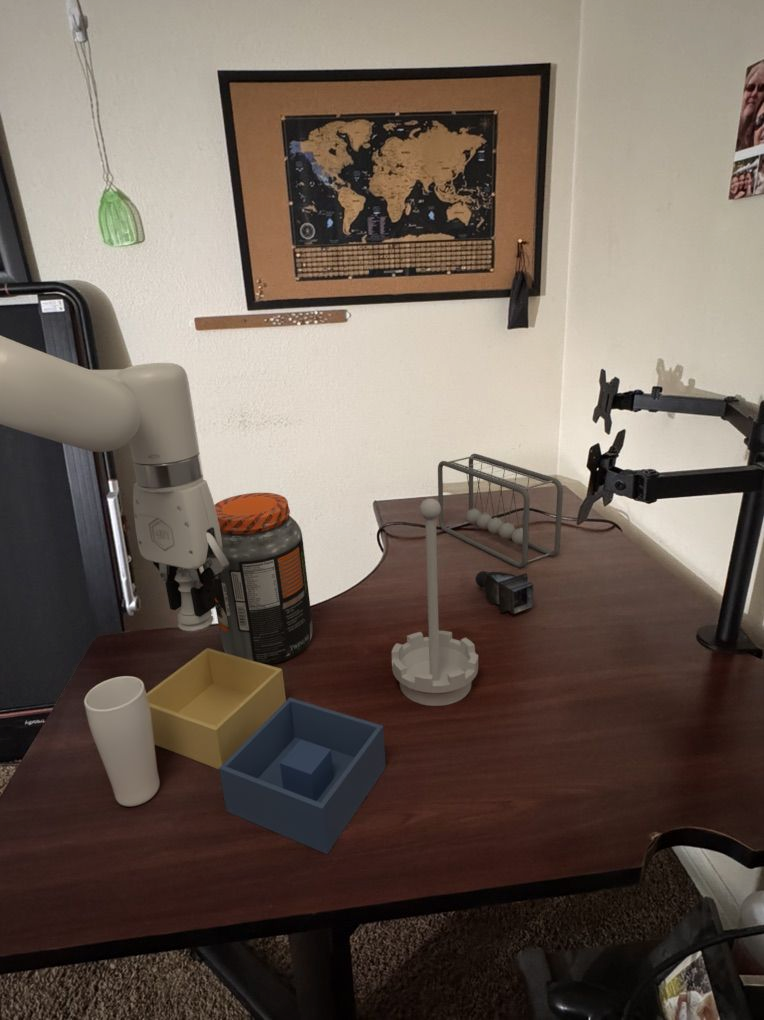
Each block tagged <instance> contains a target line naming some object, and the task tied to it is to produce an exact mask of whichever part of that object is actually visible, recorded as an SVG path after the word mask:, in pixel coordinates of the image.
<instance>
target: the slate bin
mask: <svg viewBox="0 0 764 1020" xmlns="http://www.w3.org/2000/svg"><path fill="white" fill-rule="evenodd" d="M300 739H301V740H304V741H307V742H310V743H313V744H316V745H319V746H322V747H325V748H328V749H331V755H332V765H333V775H334V779H333V780H332V781H331V783H330V784H329V785H328V786H327V788H326V789H325V790H324V792H323V793H322V794H321V796H320V797H319V798H318V800H317V801H314V800H312V799H309V798H307V797H304V796H301V795H299V794H296V793H294V792H291V791H288V790H286V789H283V783H282V776H281V769H280V762H281V761H282V760H283V759H284V757H285V756H286V755H287V754H288V753H289V752H290V751H291V750H292V748H293V747H294V746H295V745H296V744H297V743H298V742H299V741H300ZM386 764H387V763H386V749H385V731H384V725H383V724H378V723H375V722H372V721H369V720H365V719H362V718H358V717H355V716H352V715H350V714H346V713H342V712H340V711H336V710H332V709H329V708H325V707H323V706H319V705H316V704H313V703H310V702H306V701H303V700H299V699H295V698H293V697H288V698H287V699H286V702H285V703H284V704H283V705H282V706H281V707H280V708H279V709H278V710H277V711H276V712H275V713H274V714H273V715H272V716H271V717H270V718H269V719H268V720H267V721H266V722H265V723H264V724H263V725H262V726H261V727H260V728H259V729H258V730H257V731H256V732H255V733H254V734H253V735H252V736H251V737H250V738H249V739H248V740H247V741H246V742H245V743H244V744H243V745H242V746H241V747H240V748H239V749H238V750H237V751H236V752H235V753H234V754H233V755H232V756H231V757H230V758H229V759H228V760H227V761H226V762H225V763H224V764H223V765H222V766H221V767H220V768H219V769H218V772H219V777H220V783H221V789H222V794H223V800H224V805H225V809H226V813H228V814H231V815H233V816H235V817H238V818H241V819H243V820H245V821H247V822H250V823H252V824H254V825H257V826H259V827H262V828H264V829H267V830H268V831H271V832H273V833H276V834H278V835H280V836H282V837H285V838H288V839H290V840H293V842H296V843H299V844H302V845H304V846H306V847H309V848H311V849H313V850H316V851H318V852H320V853H323V854H325V855H328V854H329V853H330V851H331V850H332V849H333V847H334V845H335V844H336V842H337V841H338V840H339V838H340V837H341V835H342V834H343V832H344V831H345V829H346V828H347V826H348V825H349V823H351V820H352V819H353V817H354V816H355V815H356V813H357V811H358V810H359V808H361V805H362V804H363V802H364V801H365V799H366V798H367V796H368V795H369V793H370V792H371V791H372V789H373V787H374V786H375V785H376V783H377V781H378V780H379V779H380V777H381V776H382V774H383V773H384V771H385V770H386V768H387V765H386Z"/></svg>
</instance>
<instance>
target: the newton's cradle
mask: <svg viewBox="0 0 764 1020" xmlns="http://www.w3.org/2000/svg"><path fill="white" fill-rule="evenodd" d="M464 460H468V465H463V464H461V463H458V462H459V461H464ZM474 461H477V463H474ZM479 464H481V465H480V468H478V469H476V468H474V465H479ZM483 464H486V465H489V468H491V472H489V473H488V472H484V471H482V469H484V467H483ZM443 467H447V468H449V469H452V470H455V471H457V472H460V473H463V474H466V479H467V485H468V511H467V512H466V514H465V519H466V522H463V523H459V524H456V525H452V526H449V527H447V526H446V525H445V521H444V475H443V469H444V468H443ZM494 467H495V468H498V469H501V470H497V471H494ZM486 468H488V466H485V469H486ZM501 471H503V475H502V477H499V476H496V475H493V473H498V472H501ZM505 471H508V472H511V476H512V475H515V479H514V480H513V481H511V480H508V479H505V478H506V477H508V476H509V477H510V474H508V475H505ZM517 475H520V476H522V477H524V478H522V479H517ZM474 477H475V478H476V479H477V491H476V497H475V504H474ZM525 477H526V478H525ZM526 479H528V480H527V486H526V485H523V484H520V483H517V482H519V481H522V480H526ZM530 479H531V480H534V481H535V480H536V481H538V482H541V483H536V484H534V485H533V484H532V485H530V486H529V484H530ZM481 480H483V481H486V482H488V493H487V501H486V505H485V506H486V507H485V512H484V507H483V502H482V495H481V489H480V488H481V487H480V481H481ZM550 483H551V484H554V485H555V487H556V491H557V492H556V506H555V507H556V509H555V528H554V529H555V531H554V548H553V551H552V550H550V549H549V548H546V547H543V546H541V545H538V544H536V543H534V542H531V541H530V534H529V533H530V531H529V529H530V495H529V493H528V492H529V491H528V490H530V489H533V488H537V487H540V486H543V485H547V484H550ZM491 484H494V485H497V486H500V493H499V499H498V504H497V505H498V506H497V511H496V516H495V511H494V505H493V499H492V493H491V492H492V491H491ZM503 488H505V489H509V490H511V491H512V496H511V503H510V508H509V514H508V520H507V519H506V512H505V504H504V497H503V491H502V489H503ZM515 492H517V493H519V494H521V496H522V497H523V514H522V519H521V526H520V523H519V517H518V512H517V505H516V503H517V502H516V498H515ZM478 493H479V494H478ZM437 495H438V497H437V499H438V500H437V501H438V502H439V504H440V506H441V512H440V514H439V516H438V524H439V526H440V529H441V530H442V531H443V532H445V533H447V534H449V535H451V536H453V537H455V538H457V539H459V540H461V541H463V542H465V543H467V544H469V545H471V546H473V547H475V548H477V549H479V550H481V551H483V552H486V553H488V554H490V555H491V556H494V557H496V558H498V559H499V560H502V561H504V562H506V563H507V564H510V565H512V566H514V567H516V568H518V569H524V568H525V567H527V564H529V563H531V562H534V561H537V560H539V559H542V558H545V557H547V556H548V557H553V558H554V557H556V556H558V555H559V554H560V550H561V534H562V516H563V513H562V512H563V499H564V497H563V495H564V488H563V484H562V482H561V481H560V480H559V479H558V478H556V477H553V476H549V475H546V474H543V473H541V472H537V471H534V470H530V469H527V468H524V467H522V466H521V467H520V466H518V465H514V464H510V463H508V462H505V461H501V460H497V459H495V458H492V457H488V456H485V455H482V454H478V453H472V454H470V456H466V457H461V458H458V459H454V460H449V461H447V460H441V461H440V462H439V463H438V465H437ZM478 495H479V497H480V504H481V510H482V512H481V511H480V510H479V509H477V508H476V507H477V501H478ZM489 496H490V497H489ZM489 498H490V501H491V508H492V514H493V517H492V516H491V515H490V514H489V513H487V510H488V504H489ZM501 500H502V501H501ZM513 501H514V507H515V514H516V519H517V526H518V527H517V528H515V527H516V526H514V524H512V523H511V522H510V517H511V512H512V507H513V506H512V505H513ZM500 502H502V508H503V515H504V522H503V520H502V519H501V518H498V515H499V509H500ZM467 524H470V525H477V527H478V528H479V529H482V530H487V531H488V532H489V533H490V534H492V535H499V537H500V538H502V539H504V540H511V541H512V542H513V543H514V544H515V545H517V546H522V547H521V548H522V549H521V551H522V553H521V562H520V561H518V560H515V559H514V558H511V557H509V556H507V555H505V554H503V553H501V552H499V551H497V550H495V549H493V548H491V547H489V546H486V545H485V544H482V543H480V542H478V541H476V540H474V539H472V538H470V537H468V536H466V535H464V534H462V533H459V532H457V531H456V530H453V529H455V528H458V527H461V526H464V525H467ZM529 548H530V549H533V550H535V551H538V552H540V553H542V554H543V555H540V556H537V557H534V558H531V559H529V556H528V555H529Z"/></svg>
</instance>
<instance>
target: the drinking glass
mask: <svg viewBox="0 0 764 1020" xmlns="http://www.w3.org/2000/svg"><path fill="white" fill-rule="evenodd" d="M147 693H148V692H147V690H146V687H145V683H144V682H143V680H142V679H141V678H139V677H136V676H131V675H122V676H116V677H112V678H109V679H106V680H103V681H102V682H100V683H98V684H96V685H95V686H94V687H92V688H91V689H90V690H89V691H88V692H87V693H86V695H85V697H84V700H83V705H84V709H85V714H86V719H87V724H88V727H89V730H90V733H91V736H92V739H93V742H94V744H95V747H96V748H97V751H98V754H99V757H100V759H101V762H102V764H103V767H104V769H105V772H106V775H107V777H108V780H109V783H110V785H111V788H112V791H113V795H114V796H113V797H114V799H115V800H116V803H118V804H119V805H121V806H123V807H136V806H141V805H143V804H145V803H147V802H148V801H150V800H151V799H152V798H154V796H155V795H156V794H157V793H158V791H159V789H160V785H161V784H160V783H161V782H160V781H161V780H160V775H159V772H158V763H157V755H156V754H157V753H156V745H155V744H154V736H153V727H152V718H151V711H150V706H149V701H148V697H147Z"/></svg>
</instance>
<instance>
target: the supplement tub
mask: <svg viewBox="0 0 764 1020" xmlns="http://www.w3.org/2000/svg"><path fill="white" fill-rule="evenodd" d="M288 501H289V500H288V499H287V498H286V497H285V496H283V495H281V494H278V493H273V492H249V493H243V494H237V495H234V496H229V497H226V498H224V499H222V500H219V501H218V502H216V503H214V505H215V509H216V513H217V517H218V522H219V527H220V532H221V539H222V552H223V553H224V555H225V557H226V558H227V560H228V562H229V564H230V566H229V567H228V568H227V569H225V570H223V571H222V572H220V573H218V574H217V576H216V578H215V579H214V580H213V581H212V584H213V590H214V596H215V603H216V605H215V607H214V608H215V614H216V618H217V624H218V629H219V636H220V641H221V645H222V648H223V650H224V653H227V654H230V655H234V656H237V657H241V658H245V659H248V660H252V661H255V662H259V663H262V664H266V665H272V664H276V663H279V662H282V661H286V660H288V659H290V658H291V659H292V658H293V657H294V656H297V655H299V654H300V653H301V652H303V651H304V650H305V649H306V648H307V647H308V646H309V643H310V642H311V641H312V637H313V631H314V628H313V627H314V625H313V618H312V608H311V599H310V592H309V591H310V589H309V582H308V573H307V566H306V555H305V547H304V540H303V539H304V538H303V532H302V529H301V526H300V524H299V523H297V521H296V520H295V519H294V518H293V517H292V516H291V515H290V513H291V511H290V507H289V502H288Z"/></svg>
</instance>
